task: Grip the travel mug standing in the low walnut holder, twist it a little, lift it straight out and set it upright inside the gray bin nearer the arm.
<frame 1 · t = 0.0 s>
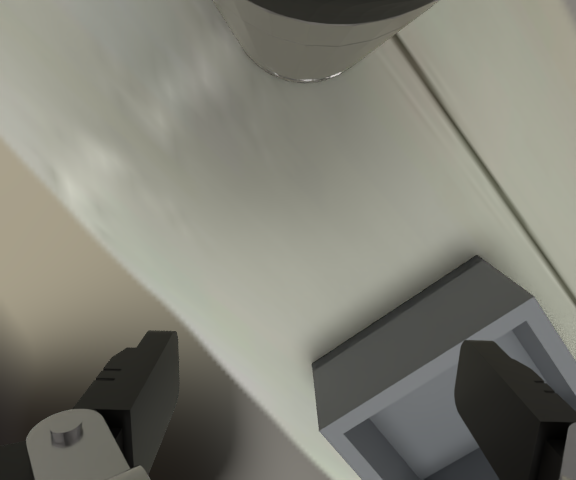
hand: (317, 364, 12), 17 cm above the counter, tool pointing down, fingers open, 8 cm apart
gray bin: (442, 379, 32), on the counter
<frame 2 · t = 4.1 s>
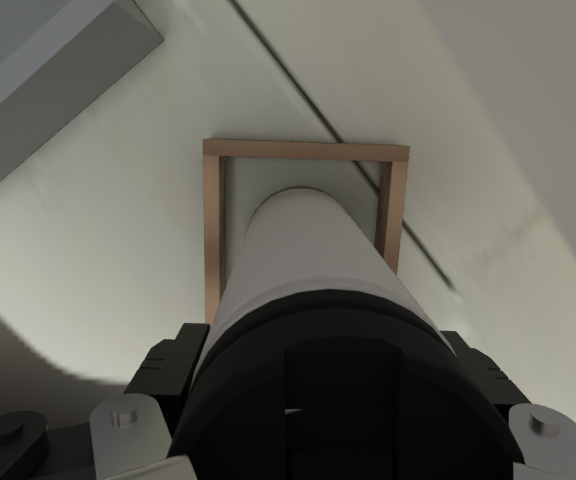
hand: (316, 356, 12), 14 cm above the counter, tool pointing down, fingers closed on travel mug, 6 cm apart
travel mug: (300, 239, 26), resting in walnut holder, touching gripper
walnut holder: (300, 240, 26), on the counter
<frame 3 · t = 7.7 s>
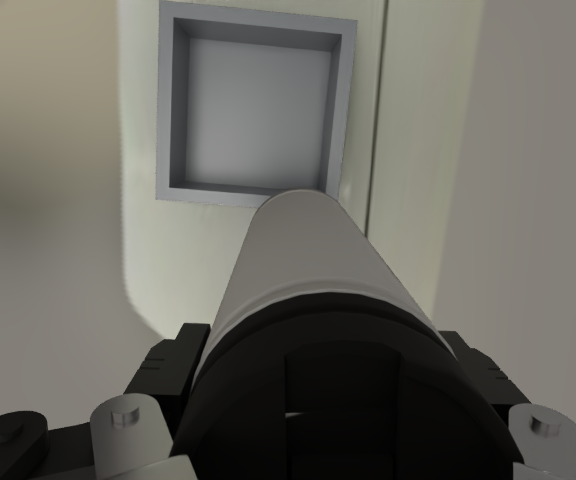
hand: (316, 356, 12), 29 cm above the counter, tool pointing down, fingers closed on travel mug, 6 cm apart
travel mug: (300, 240, 26), point 15 cm above the counter, touching gripper
gray bin: (256, 118, 38), on the counter
when the fingers open (16 cm above the counter, at t = 11.5 s): travel mug drops 1 cm, resting on gray bin.
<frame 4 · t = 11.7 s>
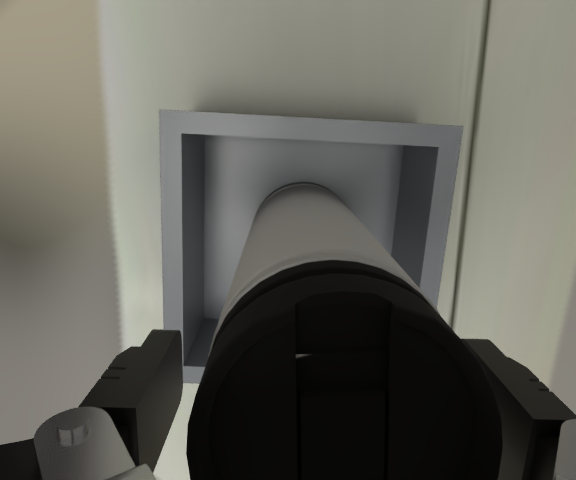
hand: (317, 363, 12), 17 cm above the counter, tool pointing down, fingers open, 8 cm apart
travel mug: (302, 232, 27), point 1 cm above the counter, touching gray bin
gray bin: (298, 231, 28), on the counter
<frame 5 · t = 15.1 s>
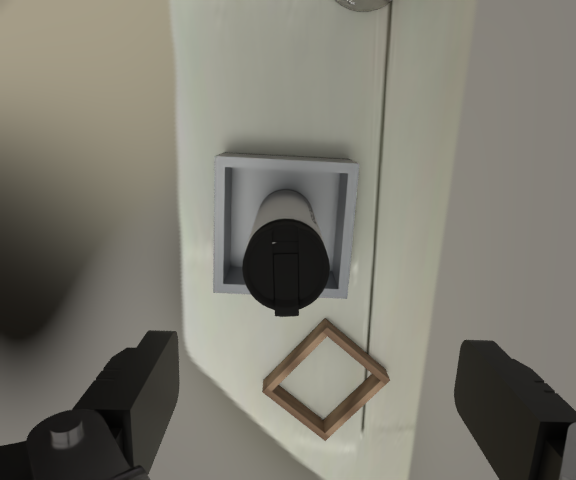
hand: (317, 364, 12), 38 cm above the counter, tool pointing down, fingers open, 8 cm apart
travel mug: (285, 217, 49), point 1 cm above the counter, touching gray bin
walnut holder: (324, 374, 55), on the counter
gray bin: (283, 217, 50), on the counter
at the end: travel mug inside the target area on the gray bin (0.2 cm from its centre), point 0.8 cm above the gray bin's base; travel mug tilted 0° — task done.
